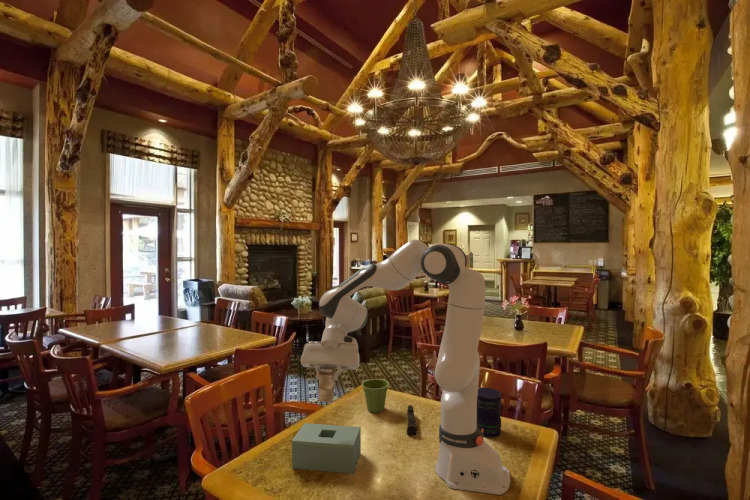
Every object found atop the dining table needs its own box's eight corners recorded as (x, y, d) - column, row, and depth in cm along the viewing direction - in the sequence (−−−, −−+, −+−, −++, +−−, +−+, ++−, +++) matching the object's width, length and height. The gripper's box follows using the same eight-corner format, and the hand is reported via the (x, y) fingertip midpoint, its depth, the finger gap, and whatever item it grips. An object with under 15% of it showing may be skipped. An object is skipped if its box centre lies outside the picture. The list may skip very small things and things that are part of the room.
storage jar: (475, 436, 143) (475, 396, 143) (473, 424, 153) (473, 387, 152) (503, 439, 141) (503, 398, 141) (499, 426, 151) (499, 388, 151)
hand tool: (417, 437, 143) (417, 424, 143) (406, 436, 144) (406, 424, 144) (416, 414, 162) (416, 403, 162) (407, 414, 163) (407, 403, 163)
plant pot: (377, 401, 175) (377, 376, 175) (394, 410, 166) (394, 384, 166) (356, 408, 168) (356, 383, 167) (373, 418, 158) (373, 391, 158)
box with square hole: (360, 453, 132) (360, 427, 132) (353, 473, 121) (353, 445, 120) (304, 448, 135) (304, 423, 135) (292, 468, 124) (291, 440, 123)
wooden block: (334, 397, 131) (334, 367, 131) (331, 402, 127) (331, 371, 127) (322, 396, 132) (322, 367, 131) (319, 401, 128) (319, 371, 127)
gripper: (303, 336, 137) (293, 373, 128) (360, 339, 134) (354, 376, 125) (307, 345, 142) (298, 381, 132) (362, 348, 139) (357, 385, 129)
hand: (326, 379), depth 129 cm, fingers closed on wooden block, 4 cm apart
